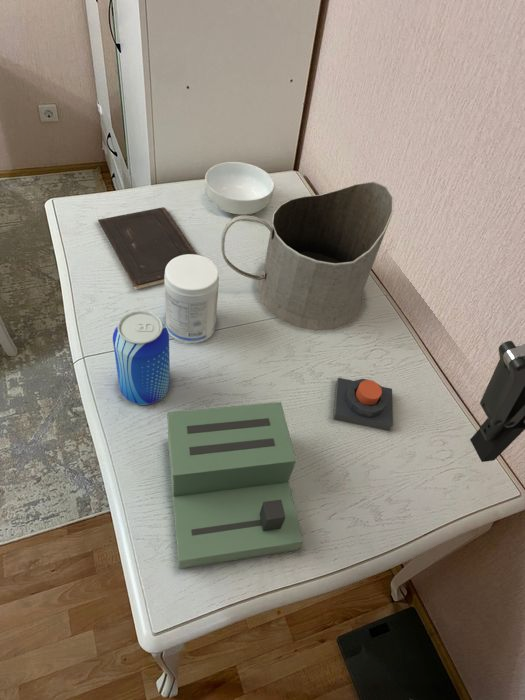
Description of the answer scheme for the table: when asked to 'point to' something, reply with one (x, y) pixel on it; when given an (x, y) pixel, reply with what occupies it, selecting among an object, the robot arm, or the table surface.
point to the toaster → (230, 482)
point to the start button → (368, 392)
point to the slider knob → (272, 515)
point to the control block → (362, 406)
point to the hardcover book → (145, 244)
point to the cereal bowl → (239, 187)
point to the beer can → (142, 357)
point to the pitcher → (321, 254)
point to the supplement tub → (191, 297)
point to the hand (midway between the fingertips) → (481, 449)
